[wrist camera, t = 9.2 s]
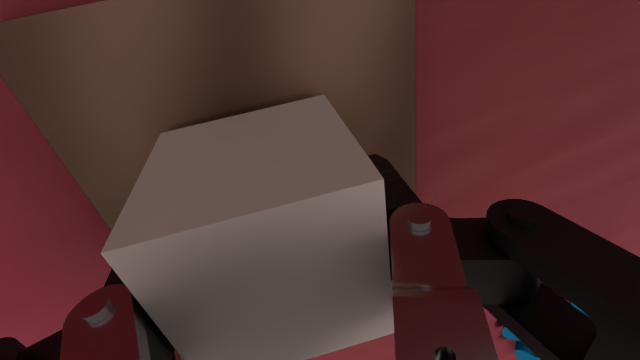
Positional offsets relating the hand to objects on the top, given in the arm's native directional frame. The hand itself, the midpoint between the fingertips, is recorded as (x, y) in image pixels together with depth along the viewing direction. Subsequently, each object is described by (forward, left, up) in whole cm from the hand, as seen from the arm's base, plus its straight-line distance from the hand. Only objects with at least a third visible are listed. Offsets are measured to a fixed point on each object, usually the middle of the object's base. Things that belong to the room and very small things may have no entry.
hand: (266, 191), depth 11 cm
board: (0, 0, -3) cm, 3 cm away
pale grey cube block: (0, 0, -1) cm, 1 cm away
